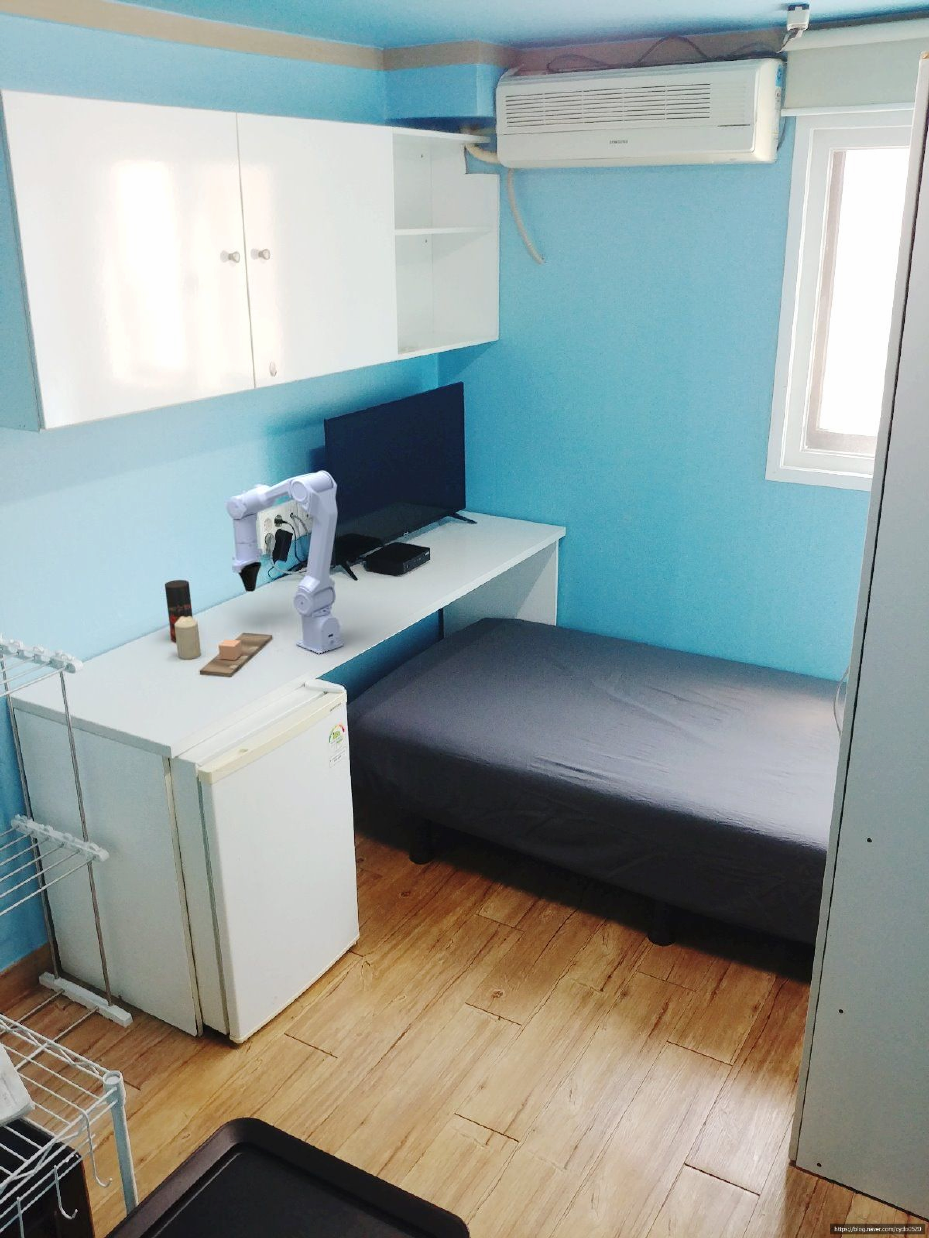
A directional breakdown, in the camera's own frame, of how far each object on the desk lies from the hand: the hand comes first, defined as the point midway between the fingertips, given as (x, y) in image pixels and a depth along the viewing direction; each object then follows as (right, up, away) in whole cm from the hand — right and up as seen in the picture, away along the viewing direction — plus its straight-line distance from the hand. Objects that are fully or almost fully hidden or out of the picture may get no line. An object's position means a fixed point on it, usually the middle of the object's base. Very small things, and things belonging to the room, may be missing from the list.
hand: (250, 590), depth 280 cm
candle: (-12, -17, -14) cm, 25 cm away
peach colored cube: (-1, -16, -18) cm, 24 cm away
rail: (0, -17, -14) cm, 22 cm away
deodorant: (-17, -13, -3) cm, 21 cm away
